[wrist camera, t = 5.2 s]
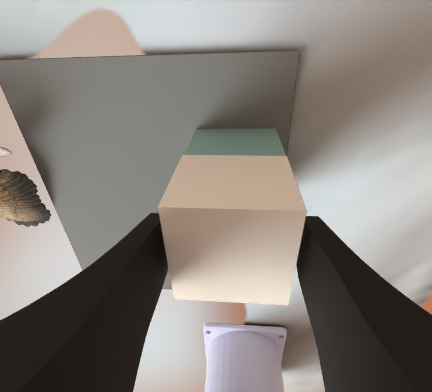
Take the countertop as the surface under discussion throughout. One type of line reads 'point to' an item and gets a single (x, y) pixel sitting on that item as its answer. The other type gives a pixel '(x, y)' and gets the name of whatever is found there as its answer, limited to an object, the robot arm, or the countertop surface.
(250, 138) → the teal brick
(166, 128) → the build mat
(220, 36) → the countertop surface
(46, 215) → the eagle figurine
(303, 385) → the countertop surface
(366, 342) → the robot arm
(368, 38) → the countertop surface
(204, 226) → the cream brick
